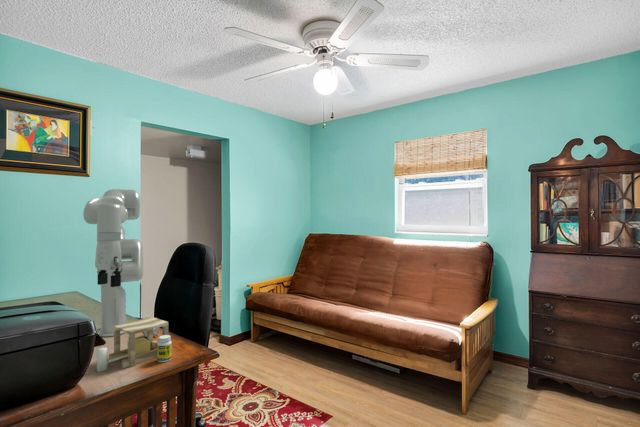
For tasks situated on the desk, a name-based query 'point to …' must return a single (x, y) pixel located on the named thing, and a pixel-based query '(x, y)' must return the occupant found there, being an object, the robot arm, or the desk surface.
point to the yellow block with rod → (140, 347)
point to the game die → (155, 332)
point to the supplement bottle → (164, 348)
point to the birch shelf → (133, 329)
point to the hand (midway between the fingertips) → (109, 285)
